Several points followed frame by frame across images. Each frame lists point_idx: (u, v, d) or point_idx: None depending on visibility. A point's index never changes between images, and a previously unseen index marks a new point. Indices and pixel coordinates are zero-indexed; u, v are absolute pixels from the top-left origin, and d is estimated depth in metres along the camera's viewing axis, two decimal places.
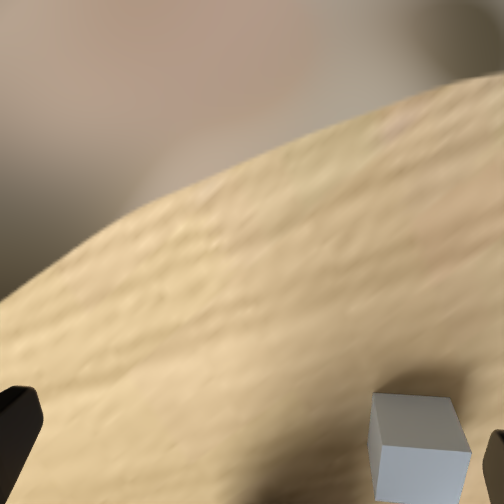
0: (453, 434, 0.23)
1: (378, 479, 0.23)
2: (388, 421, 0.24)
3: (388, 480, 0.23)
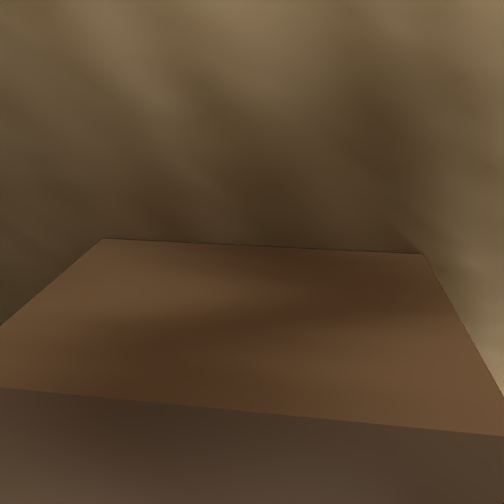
0: None
1: None
2: None
3: None
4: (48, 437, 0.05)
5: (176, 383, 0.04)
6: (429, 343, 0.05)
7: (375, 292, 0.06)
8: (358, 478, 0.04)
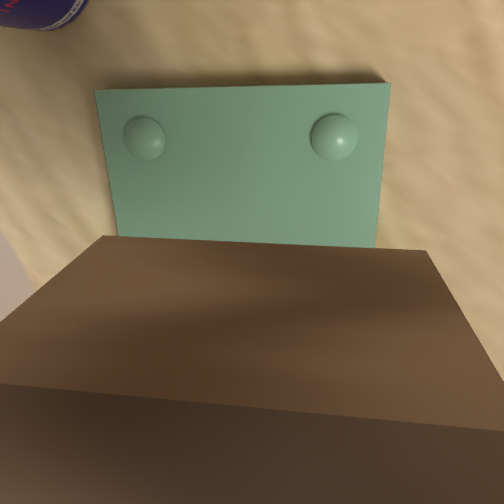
0: None
1: None
2: None
3: None
4: (48, 434, 0.05)
5: (176, 378, 0.04)
6: (433, 339, 0.05)
7: (378, 288, 0.06)
8: (362, 475, 0.04)
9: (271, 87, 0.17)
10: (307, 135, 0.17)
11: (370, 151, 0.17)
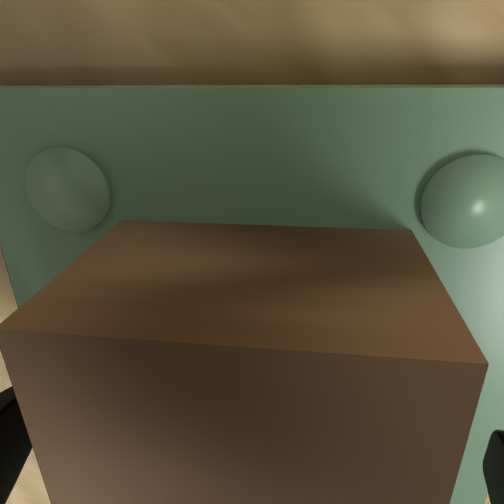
0: None
1: None
2: None
3: None
4: (88, 377, 0.06)
5: (196, 328, 0.05)
6: (412, 298, 0.06)
7: (367, 260, 0.07)
8: (351, 405, 0.05)
9: (341, 90, 0.07)
10: (410, 194, 0.08)
11: None
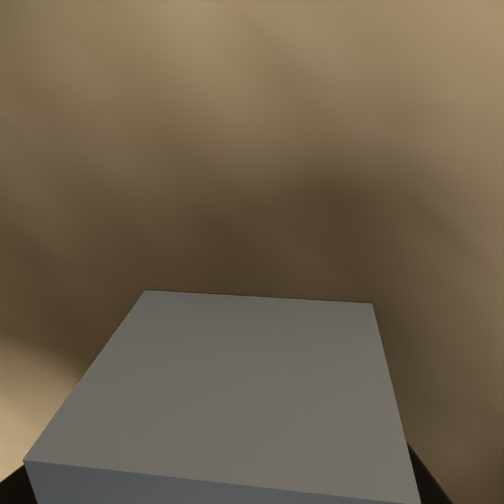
0: None
1: None
2: None
3: None
4: None
5: None
6: None
7: None
8: None
9: None
10: None
11: None
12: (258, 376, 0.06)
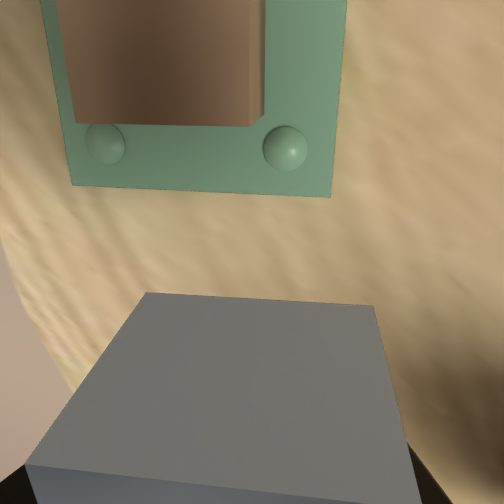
0: None
1: None
2: None
3: None
4: None
5: None
6: None
7: None
8: None
9: None
10: None
11: None
12: (258, 379, 0.06)
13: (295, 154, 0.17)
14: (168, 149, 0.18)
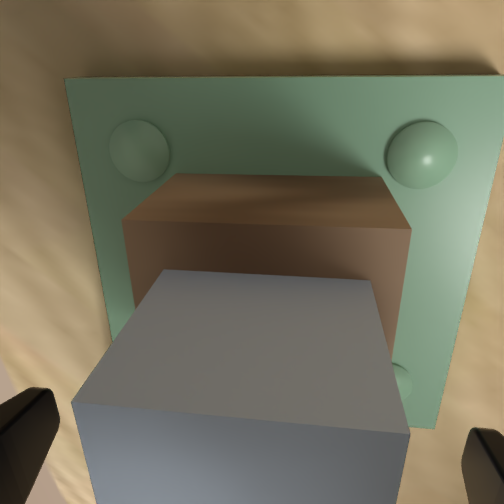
0: None
1: None
2: None
3: None
4: (176, 251, 0.09)
5: (243, 219, 0.09)
6: (374, 206, 0.10)
7: (348, 191, 0.11)
8: (335, 262, 0.09)
9: (332, 79, 0.11)
10: (380, 151, 0.12)
11: (473, 177, 0.12)
12: (269, 338, 0.07)
13: None
14: None
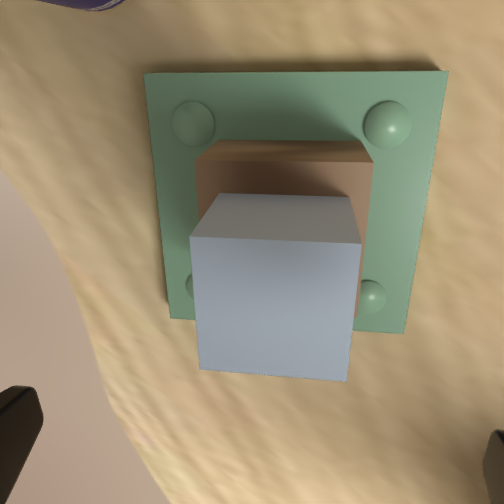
0: None
1: (287, 375, 0.13)
2: None
3: (286, 362, 0.12)
4: (228, 180, 0.15)
5: (270, 159, 0.14)
6: (353, 154, 0.15)
7: (337, 147, 0.16)
8: (328, 185, 0.14)
9: (326, 73, 0.16)
10: (360, 122, 0.17)
11: (423, 140, 0.17)
12: (289, 217, 0.12)
13: (375, 302, 0.20)
14: None
